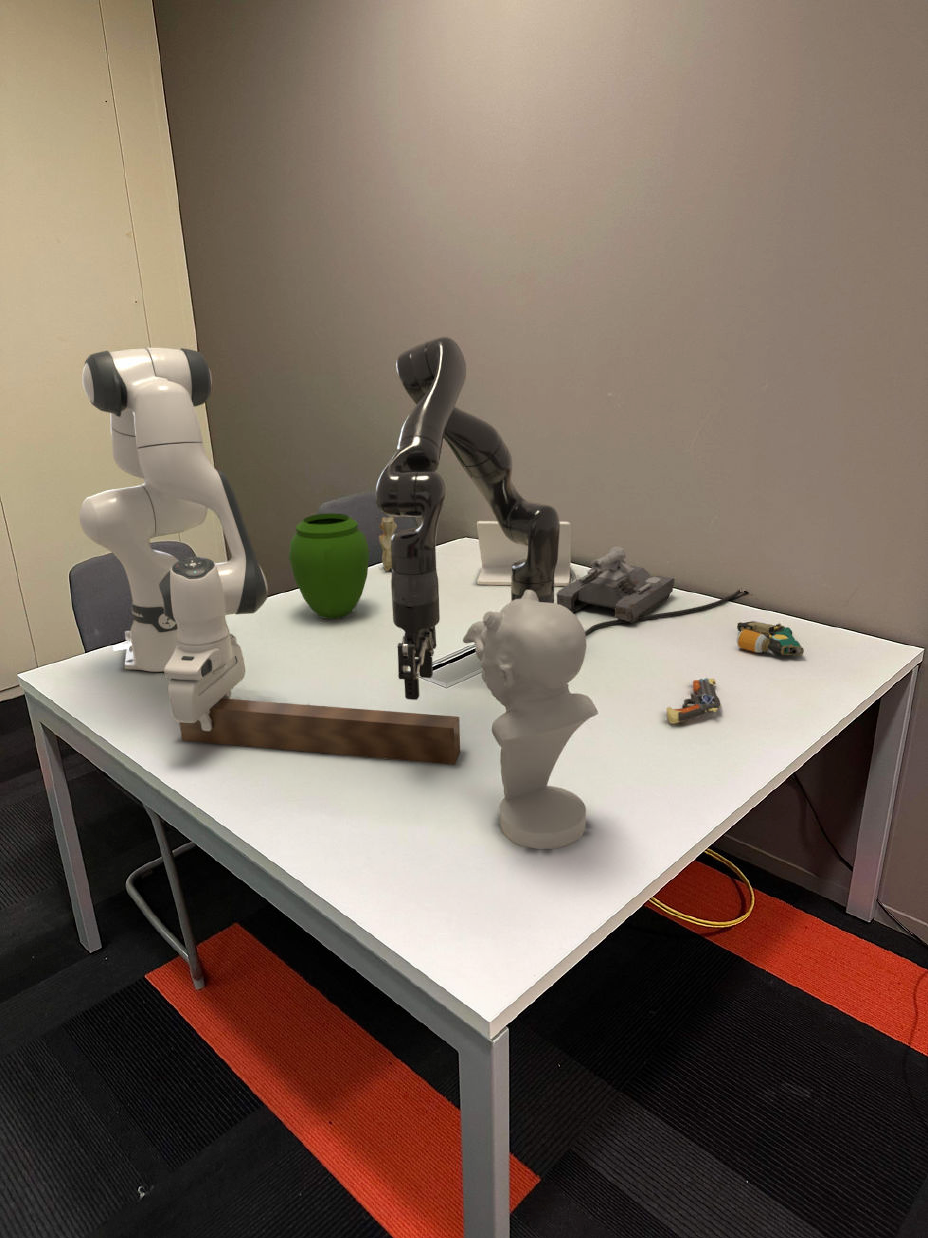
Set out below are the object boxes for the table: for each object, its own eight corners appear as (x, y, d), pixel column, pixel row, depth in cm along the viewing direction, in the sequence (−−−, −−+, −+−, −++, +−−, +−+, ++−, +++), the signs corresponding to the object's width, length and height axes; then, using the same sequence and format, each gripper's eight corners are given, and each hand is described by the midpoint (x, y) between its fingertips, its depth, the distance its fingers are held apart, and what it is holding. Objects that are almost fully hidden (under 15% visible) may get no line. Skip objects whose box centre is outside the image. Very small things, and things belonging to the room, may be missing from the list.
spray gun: (738, 629, 198) (807, 640, 192) (727, 651, 184) (801, 664, 178) (740, 612, 197) (810, 622, 191) (729, 633, 182) (804, 645, 176)
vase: (389, 608, 216) (383, 514, 208) (339, 633, 201) (330, 533, 192) (330, 596, 226) (322, 506, 218) (278, 619, 211) (267, 523, 202)
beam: (460, 752, 147) (459, 716, 145) (455, 765, 143) (453, 728, 141) (193, 729, 158) (188, 695, 155) (182, 740, 154) (176, 705, 152)
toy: (603, 584, 229) (605, 530, 224) (673, 597, 218) (677, 540, 213) (555, 612, 210) (556, 553, 205) (630, 627, 199) (633, 566, 194)
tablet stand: (569, 585, 229) (570, 524, 223) (476, 584, 232) (475, 523, 226) (570, 566, 246) (571, 508, 240) (484, 564, 249) (483, 507, 243)
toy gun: (667, 713, 153) (725, 711, 151) (663, 676, 171) (714, 673, 169) (668, 727, 154) (725, 725, 151) (664, 689, 171) (715, 686, 169)
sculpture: (401, 564, 252) (398, 514, 246) (400, 571, 245) (397, 520, 240) (381, 565, 251) (378, 515, 246) (380, 572, 245) (377, 521, 239)
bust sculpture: (526, 759, 144) (526, 560, 132) (615, 831, 124) (624, 605, 112) (442, 785, 137) (433, 578, 125) (521, 866, 117) (520, 629, 105)
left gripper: (217, 628, 159) (227, 695, 164) (158, 673, 140) (170, 747, 145) (249, 630, 157) (257, 698, 162) (192, 676, 139) (204, 750, 144)
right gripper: (405, 580, 144) (409, 669, 149) (379, 609, 131) (384, 704, 136) (448, 582, 142) (451, 672, 148) (426, 611, 129) (430, 708, 135)
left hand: (216, 722), depth 154 cm, fingers closed on beam, 4 cm apart
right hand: (419, 687), depth 142 cm, fingers open, 8 cm apart
